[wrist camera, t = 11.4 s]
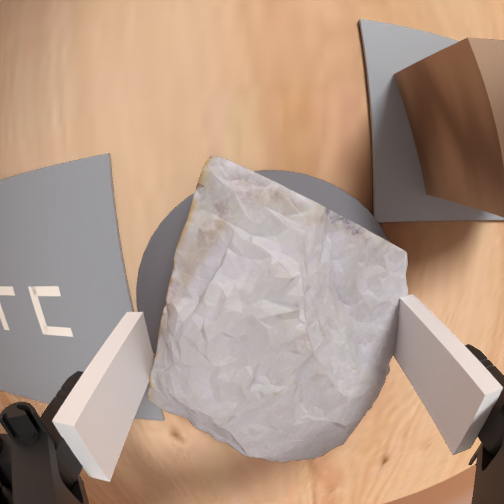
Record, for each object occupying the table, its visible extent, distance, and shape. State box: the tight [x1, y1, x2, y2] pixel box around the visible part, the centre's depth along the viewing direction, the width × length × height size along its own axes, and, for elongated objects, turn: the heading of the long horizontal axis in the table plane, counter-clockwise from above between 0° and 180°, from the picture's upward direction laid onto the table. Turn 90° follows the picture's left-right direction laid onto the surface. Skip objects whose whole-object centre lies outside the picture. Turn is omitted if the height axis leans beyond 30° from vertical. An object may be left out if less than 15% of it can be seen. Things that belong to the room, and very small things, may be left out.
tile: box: [359, 19, 504, 223], centre depth 12 cm, size 10×10×1 cm
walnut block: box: [393, 38, 504, 218], centre depth 9 cm, size 6×6×6 cm
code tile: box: [0, 154, 165, 421], centre depth 15 cm, size 16×16×1 cm
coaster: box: [137, 170, 390, 354], centre depth 15 cm, size 13×13×1 cm
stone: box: [147, 156, 408, 462], centre depth 12 cm, size 10×12×4 cm
